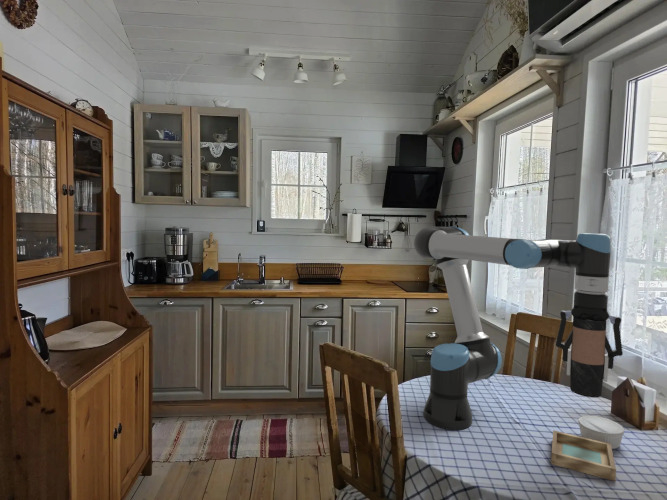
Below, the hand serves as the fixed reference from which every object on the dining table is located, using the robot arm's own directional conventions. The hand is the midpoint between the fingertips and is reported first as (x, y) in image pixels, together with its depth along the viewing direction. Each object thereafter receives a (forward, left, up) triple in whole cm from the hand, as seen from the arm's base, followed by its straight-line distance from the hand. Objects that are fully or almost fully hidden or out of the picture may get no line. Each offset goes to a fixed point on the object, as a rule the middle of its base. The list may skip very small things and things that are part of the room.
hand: (586, 376), depth 108 cm
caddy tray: (0, 0, -23) cm, 23 cm away
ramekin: (+5, +14, -23) cm, 27 cm away
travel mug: (0, 0, -4) cm, 4 cm away
